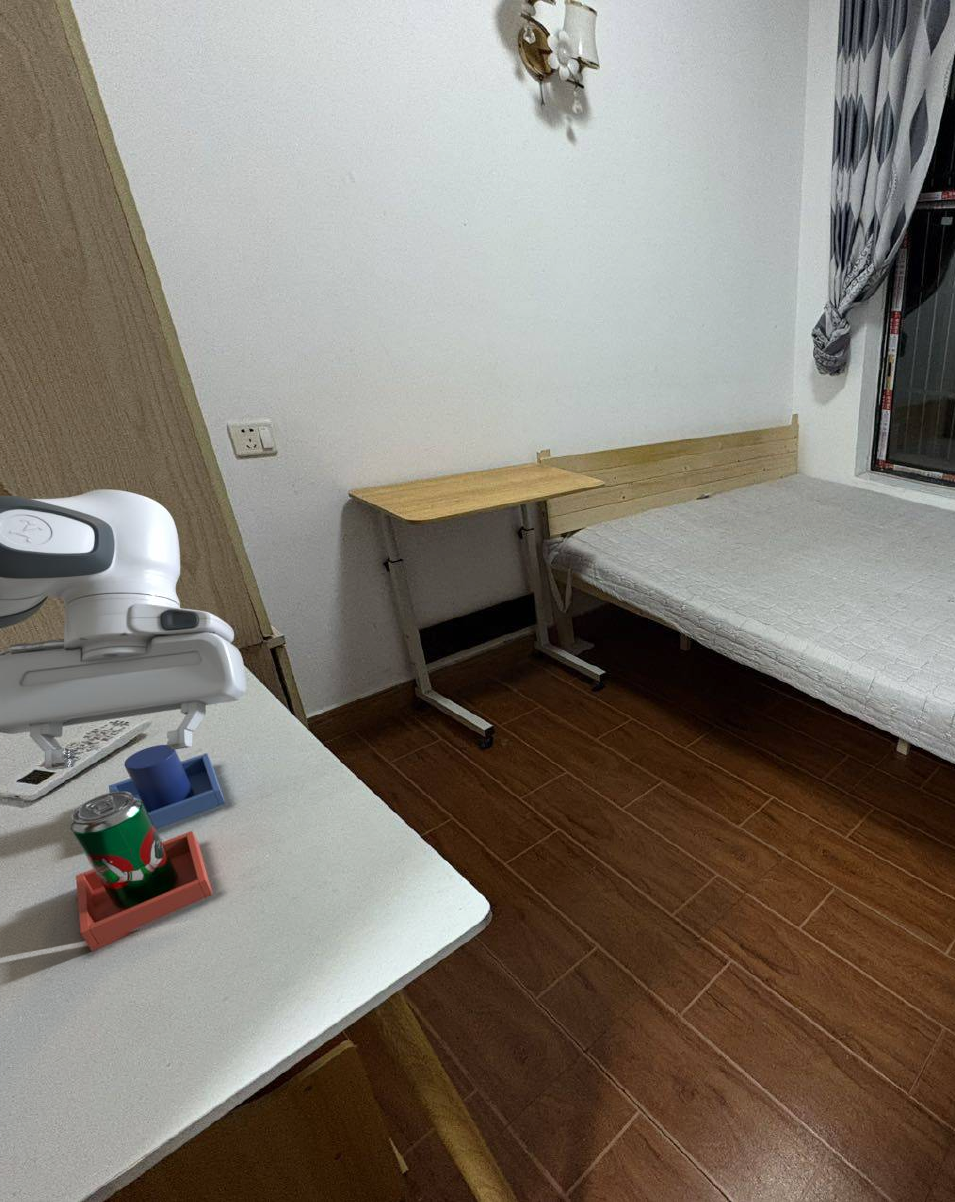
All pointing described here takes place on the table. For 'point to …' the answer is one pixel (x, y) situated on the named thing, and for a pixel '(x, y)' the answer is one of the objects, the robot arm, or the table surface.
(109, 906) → the red tray
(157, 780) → the blue solid cylinder
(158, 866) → the soda can
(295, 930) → the table surface
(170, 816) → the blue tray
